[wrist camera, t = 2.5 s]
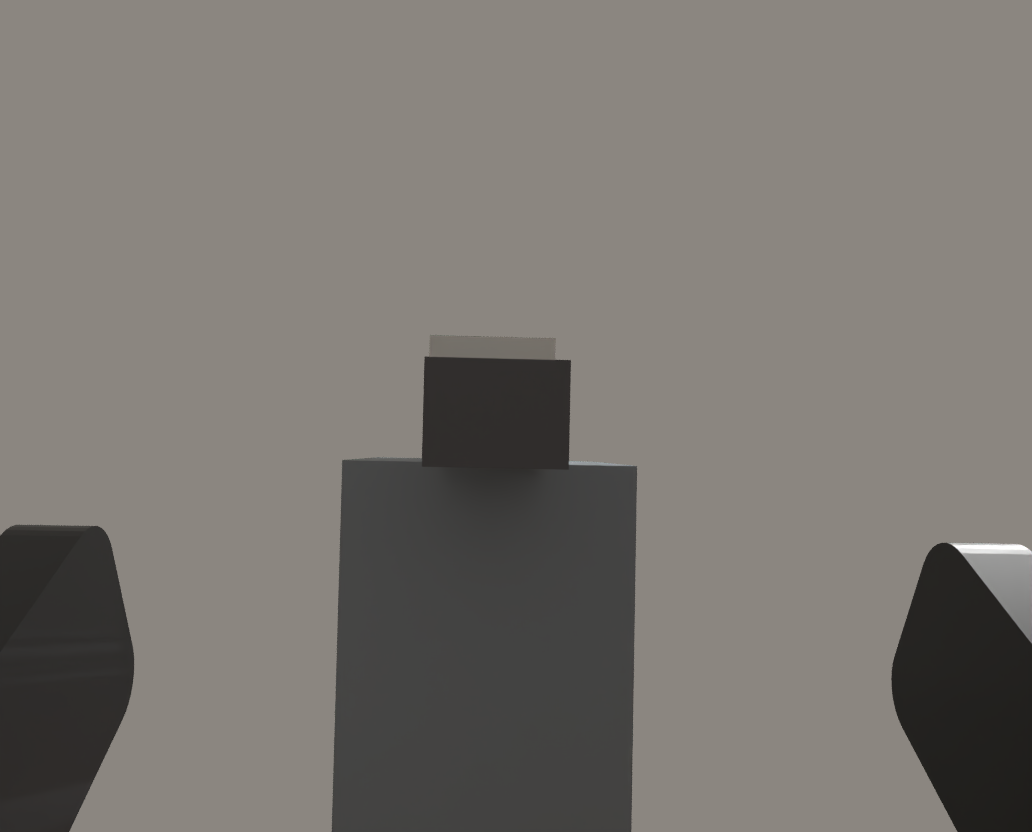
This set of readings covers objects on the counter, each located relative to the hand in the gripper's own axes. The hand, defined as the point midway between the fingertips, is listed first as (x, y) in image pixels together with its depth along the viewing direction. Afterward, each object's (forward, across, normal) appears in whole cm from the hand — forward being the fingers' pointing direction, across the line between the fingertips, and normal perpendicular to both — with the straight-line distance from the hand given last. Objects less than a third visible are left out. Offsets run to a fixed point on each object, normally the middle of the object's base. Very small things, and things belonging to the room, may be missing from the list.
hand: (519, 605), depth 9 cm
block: (+23, 0, +12) cm, 26 cm away
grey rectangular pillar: (+11, 0, +42) cm, 43 cm away
